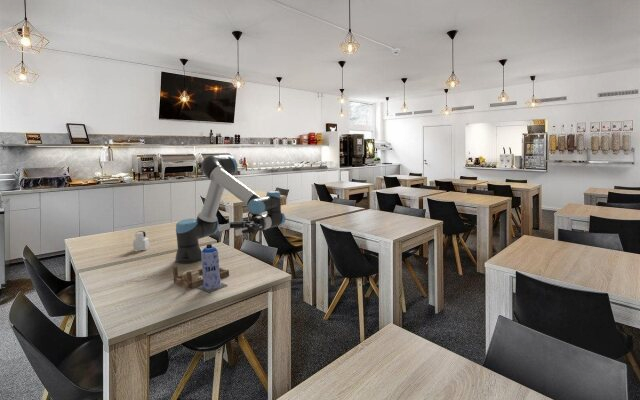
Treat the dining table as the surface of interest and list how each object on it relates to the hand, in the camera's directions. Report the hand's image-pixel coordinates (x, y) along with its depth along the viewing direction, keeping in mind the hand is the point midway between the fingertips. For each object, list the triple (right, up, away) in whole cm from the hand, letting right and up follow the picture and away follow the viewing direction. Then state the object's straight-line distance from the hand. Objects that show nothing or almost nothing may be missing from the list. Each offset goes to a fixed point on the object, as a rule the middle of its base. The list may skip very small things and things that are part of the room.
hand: (226, 230), depth 166 cm
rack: (-14, -25, +7) cm, 29 cm away
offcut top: (-18, -23, +2) cm, 29 cm away
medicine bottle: (-72, -18, +62) cm, 97 cm away
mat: (-6, -26, -3) cm, 27 cm away
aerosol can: (-6, -26, -3) cm, 27 cm away
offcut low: (-18, -26, +3) cm, 31 cm away
